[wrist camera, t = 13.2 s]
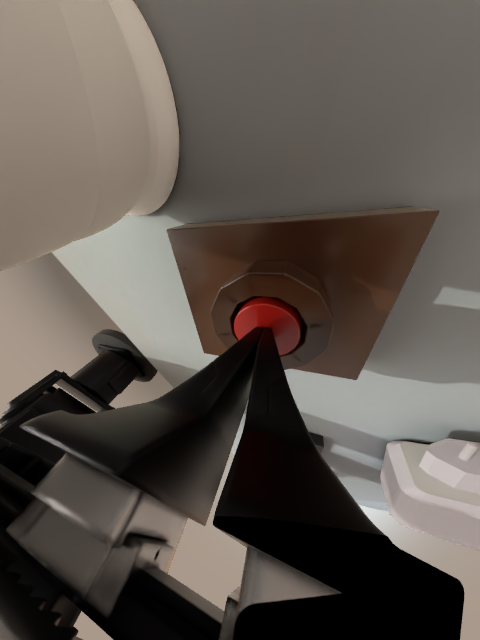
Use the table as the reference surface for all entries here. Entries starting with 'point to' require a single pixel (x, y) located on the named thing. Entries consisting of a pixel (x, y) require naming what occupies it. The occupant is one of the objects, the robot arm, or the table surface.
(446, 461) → the charger
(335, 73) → the table surface
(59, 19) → the jar
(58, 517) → the robot arm
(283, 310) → the button
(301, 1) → the table surface
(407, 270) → the button block
